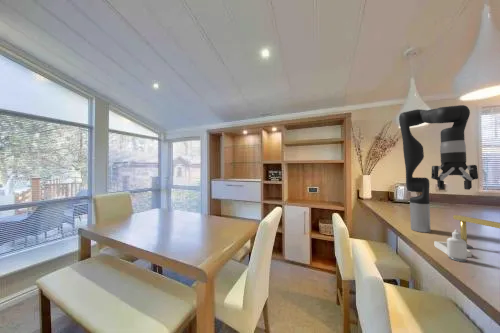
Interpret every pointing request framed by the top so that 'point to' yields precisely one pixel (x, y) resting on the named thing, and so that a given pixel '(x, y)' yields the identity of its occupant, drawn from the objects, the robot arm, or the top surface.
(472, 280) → the top surface
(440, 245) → the white rectangular frame
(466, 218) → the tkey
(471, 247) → the key plate
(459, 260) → the grey round disc
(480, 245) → the top surface
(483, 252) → the top surface
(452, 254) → the eye dropper bottle
